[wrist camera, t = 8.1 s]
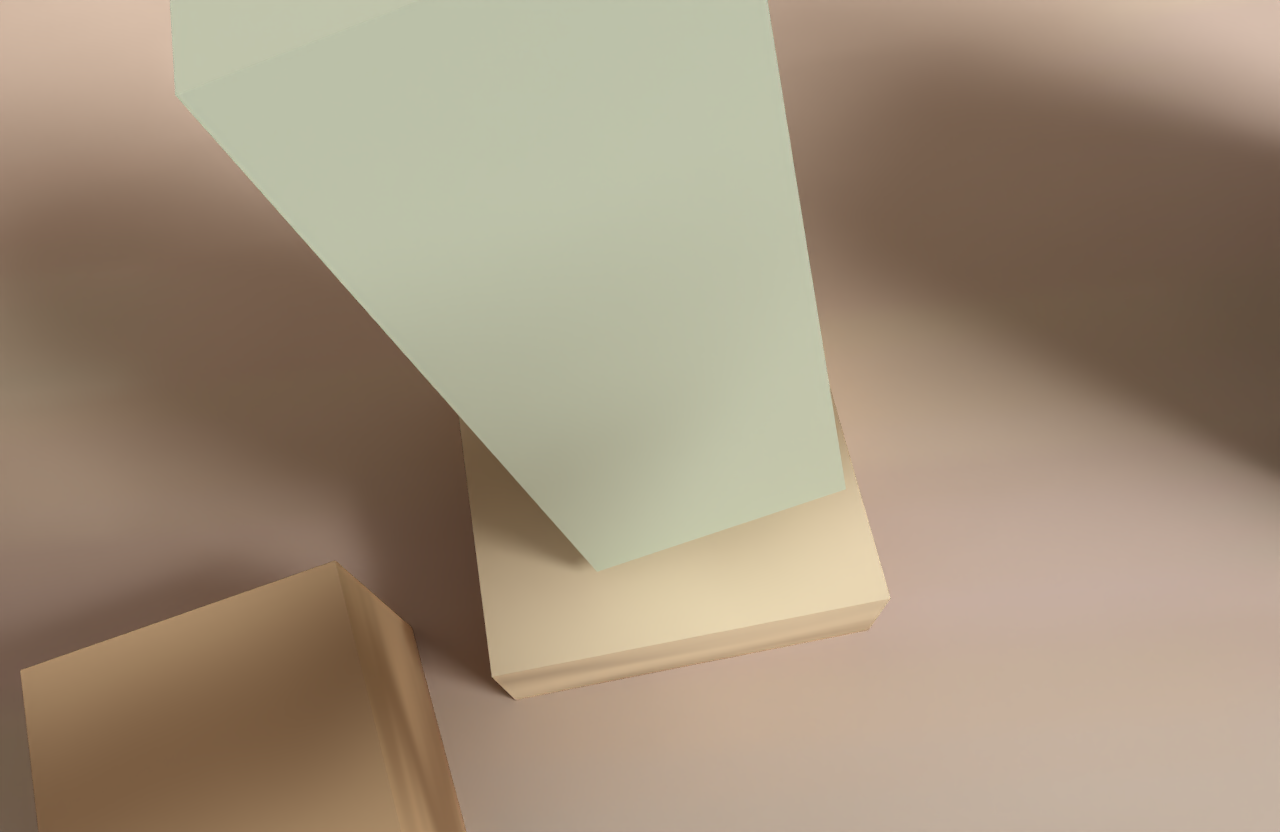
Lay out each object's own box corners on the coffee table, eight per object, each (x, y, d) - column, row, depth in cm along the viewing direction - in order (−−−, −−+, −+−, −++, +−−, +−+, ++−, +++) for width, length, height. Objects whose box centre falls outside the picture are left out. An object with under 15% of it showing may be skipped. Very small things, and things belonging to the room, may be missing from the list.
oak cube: (481, 884, 19) (414, 887, 15) (213, 987, 19) (59, 1021, 14) (413, 628, 21) (334, 560, 17) (168, 715, 21) (20, 670, 16)
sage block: (846, 489, 18) (746, -128, 8) (596, 571, 18) (174, 93, 8) (766, 281, 20) (601, -425, 10) (544, 359, 21) (156, -240, 10)
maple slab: (865, 634, 21) (890, 598, 18) (518, 703, 21) (491, 676, 18) (782, 329, 24) (793, 258, 21) (475, 387, 24) (446, 323, 21)
